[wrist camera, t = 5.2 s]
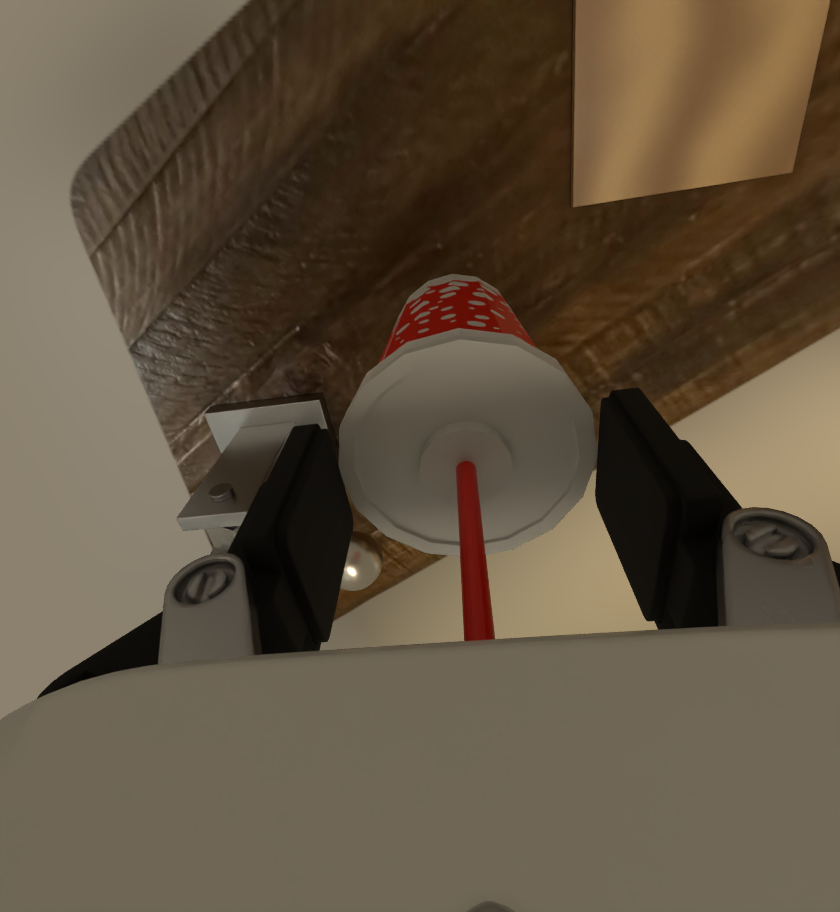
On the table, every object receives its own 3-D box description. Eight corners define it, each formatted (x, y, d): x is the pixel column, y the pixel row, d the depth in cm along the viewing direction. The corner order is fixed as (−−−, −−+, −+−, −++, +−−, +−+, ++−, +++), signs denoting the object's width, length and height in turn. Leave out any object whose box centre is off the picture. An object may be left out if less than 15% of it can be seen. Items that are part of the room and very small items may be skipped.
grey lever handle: (387, 525, 27) (354, 567, 24) (397, 567, 28) (368, 610, 26) (231, 488, 32) (193, 519, 30) (247, 525, 34) (212, 557, 32)
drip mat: (570, 206, 29) (572, 207, 29) (573, -19, 24) (575, -23, 24) (786, 172, 28) (792, 172, 28) (839, -75, 23) (848, -80, 22)
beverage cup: (460, 431, 22) (485, 784, 10) (345, 343, 20) (205, 657, 8) (568, 326, 19) (780, 642, 7) (448, 212, 17) (470, 390, 5)
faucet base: (322, 392, 37) (278, 486, 27) (347, 479, 41) (316, 587, 31) (209, 406, 38) (127, 501, 28) (245, 489, 42) (184, 597, 32)
